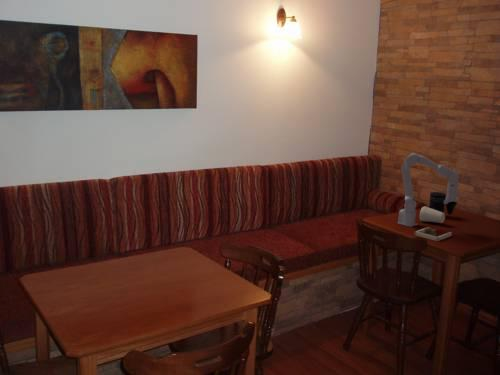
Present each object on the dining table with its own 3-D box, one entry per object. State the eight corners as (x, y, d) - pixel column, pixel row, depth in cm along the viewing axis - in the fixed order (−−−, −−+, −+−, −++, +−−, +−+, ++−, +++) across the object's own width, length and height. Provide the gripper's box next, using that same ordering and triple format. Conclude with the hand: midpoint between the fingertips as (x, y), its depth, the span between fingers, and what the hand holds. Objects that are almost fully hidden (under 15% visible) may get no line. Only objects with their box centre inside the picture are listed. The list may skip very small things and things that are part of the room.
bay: (414, 235, 294) (414, 231, 294) (428, 230, 305) (428, 226, 304) (437, 241, 284) (437, 237, 283) (451, 235, 295) (451, 232, 294)
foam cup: (439, 227, 314) (419, 223, 323) (446, 221, 320) (426, 217, 329) (439, 213, 310) (419, 209, 319) (446, 208, 316) (426, 204, 325)
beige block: (424, 236, 293) (425, 228, 292) (428, 234, 296) (429, 227, 295) (431, 238, 290) (432, 230, 289) (435, 236, 292) (436, 229, 292)
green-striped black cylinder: (427, 213, 344) (429, 191, 341) (442, 214, 342) (444, 192, 339) (429, 217, 334) (431, 194, 331) (444, 218, 332) (447, 195, 329)
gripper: (452, 194, 294) (450, 217, 297) (464, 191, 303) (461, 213, 306) (441, 192, 299) (438, 214, 302) (453, 189, 308) (450, 210, 311)
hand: (449, 213), depth 304 cm, fingers closed
